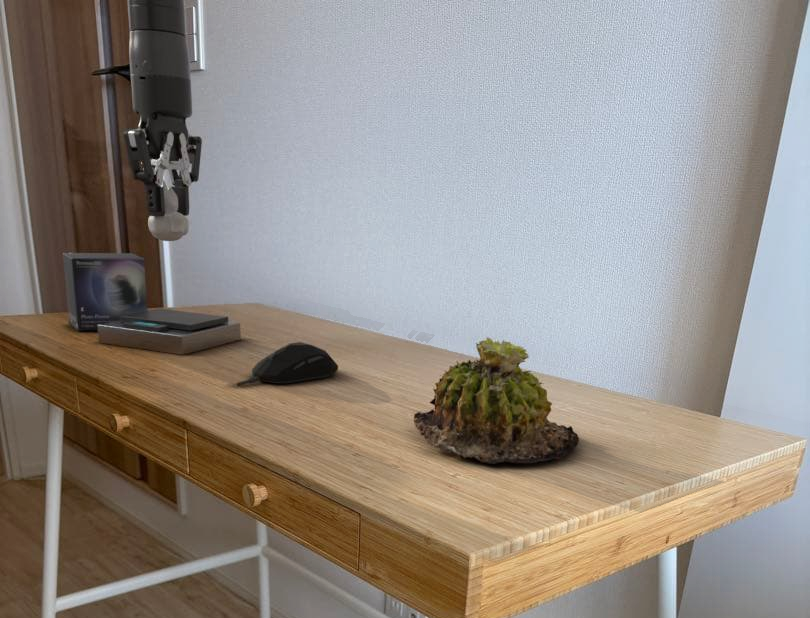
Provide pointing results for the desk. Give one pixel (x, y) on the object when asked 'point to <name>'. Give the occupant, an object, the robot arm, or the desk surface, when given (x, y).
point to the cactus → (494, 411)
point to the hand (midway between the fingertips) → (169, 215)
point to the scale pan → (175, 319)
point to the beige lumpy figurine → (169, 219)
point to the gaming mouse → (293, 365)
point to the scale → (167, 336)
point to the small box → (103, 287)
